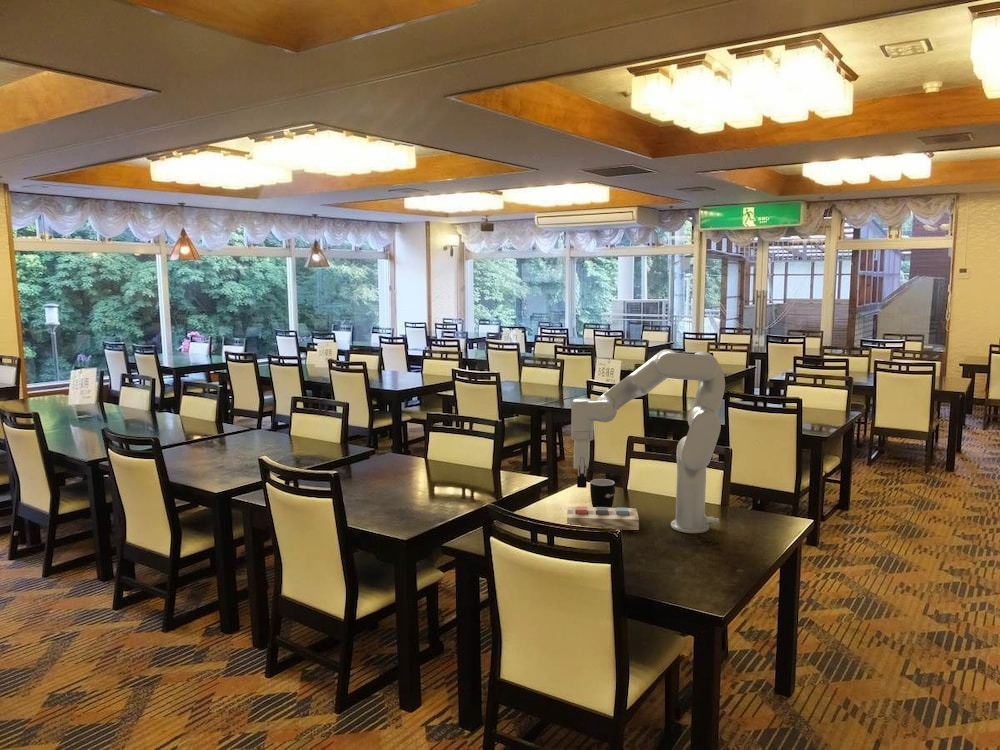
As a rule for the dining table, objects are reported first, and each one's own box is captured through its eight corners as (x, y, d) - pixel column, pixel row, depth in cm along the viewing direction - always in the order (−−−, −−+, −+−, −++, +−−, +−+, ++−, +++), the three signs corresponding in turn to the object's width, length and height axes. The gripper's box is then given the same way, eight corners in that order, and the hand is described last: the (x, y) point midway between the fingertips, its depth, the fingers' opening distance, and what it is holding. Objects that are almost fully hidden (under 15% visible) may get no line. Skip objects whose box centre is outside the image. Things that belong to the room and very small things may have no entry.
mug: (605, 514, 260) (605, 487, 259) (585, 509, 266) (585, 482, 265) (624, 506, 268) (624, 480, 267) (604, 501, 275) (604, 475, 273)
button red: (586, 514, 252) (587, 506, 251) (587, 517, 248) (587, 509, 248) (576, 514, 252) (576, 506, 252) (576, 517, 248) (576, 509, 248)
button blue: (627, 515, 250) (627, 507, 250) (628, 518, 247) (628, 510, 246) (617, 515, 251) (617, 507, 250) (617, 518, 247) (617, 510, 247)
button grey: (607, 514, 251) (607, 507, 251) (607, 518, 247) (607, 510, 247) (596, 514, 251) (596, 506, 251) (597, 518, 248) (597, 510, 247)
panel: (635, 519, 254) (636, 508, 254) (638, 531, 242) (638, 519, 242) (567, 517, 257) (567, 506, 256) (566, 528, 245) (567, 517, 245)
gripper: (571, 430, 254) (571, 480, 257) (571, 439, 239) (570, 493, 242) (593, 430, 253) (592, 481, 256) (593, 439, 239) (593, 493, 241)
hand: (581, 486), depth 249 cm, fingers closed
